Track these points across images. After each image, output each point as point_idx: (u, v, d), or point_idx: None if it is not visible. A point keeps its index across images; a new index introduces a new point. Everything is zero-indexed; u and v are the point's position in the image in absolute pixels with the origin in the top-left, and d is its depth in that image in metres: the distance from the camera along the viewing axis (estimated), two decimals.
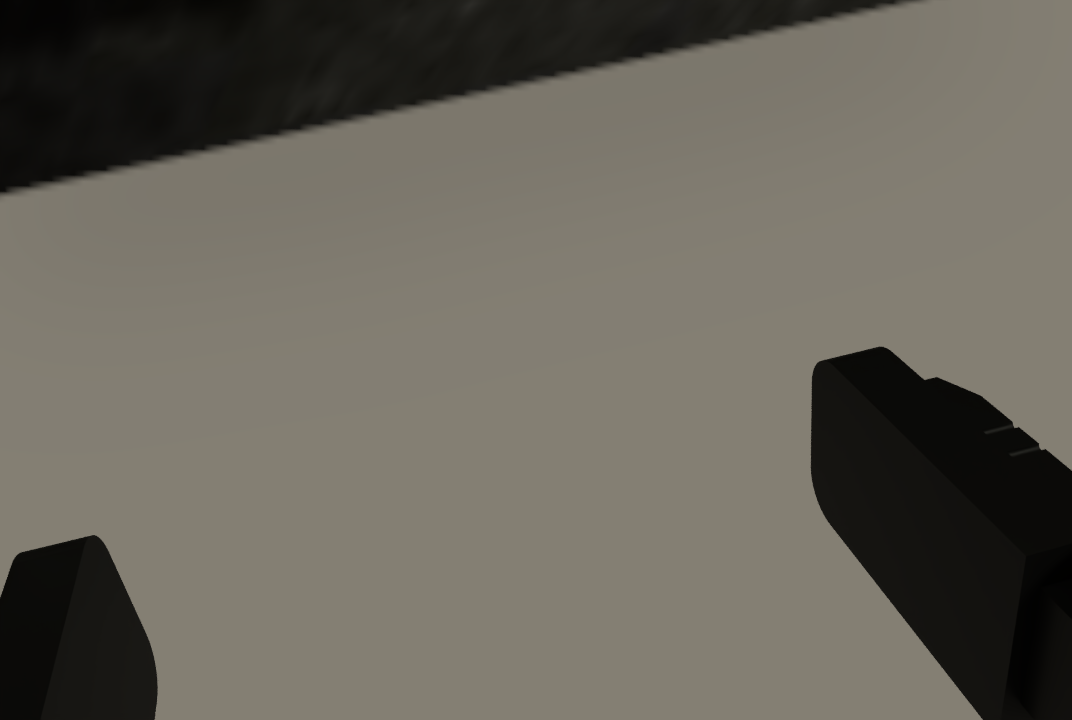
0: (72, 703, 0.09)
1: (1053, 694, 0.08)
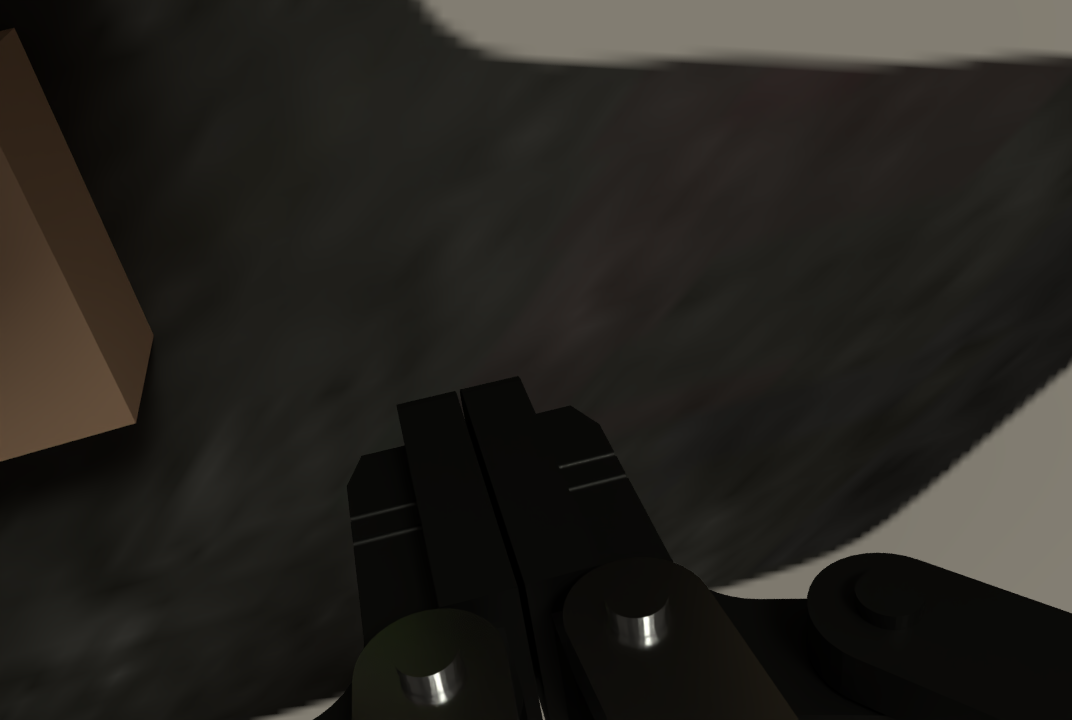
0: None
1: (573, 713, 0.09)
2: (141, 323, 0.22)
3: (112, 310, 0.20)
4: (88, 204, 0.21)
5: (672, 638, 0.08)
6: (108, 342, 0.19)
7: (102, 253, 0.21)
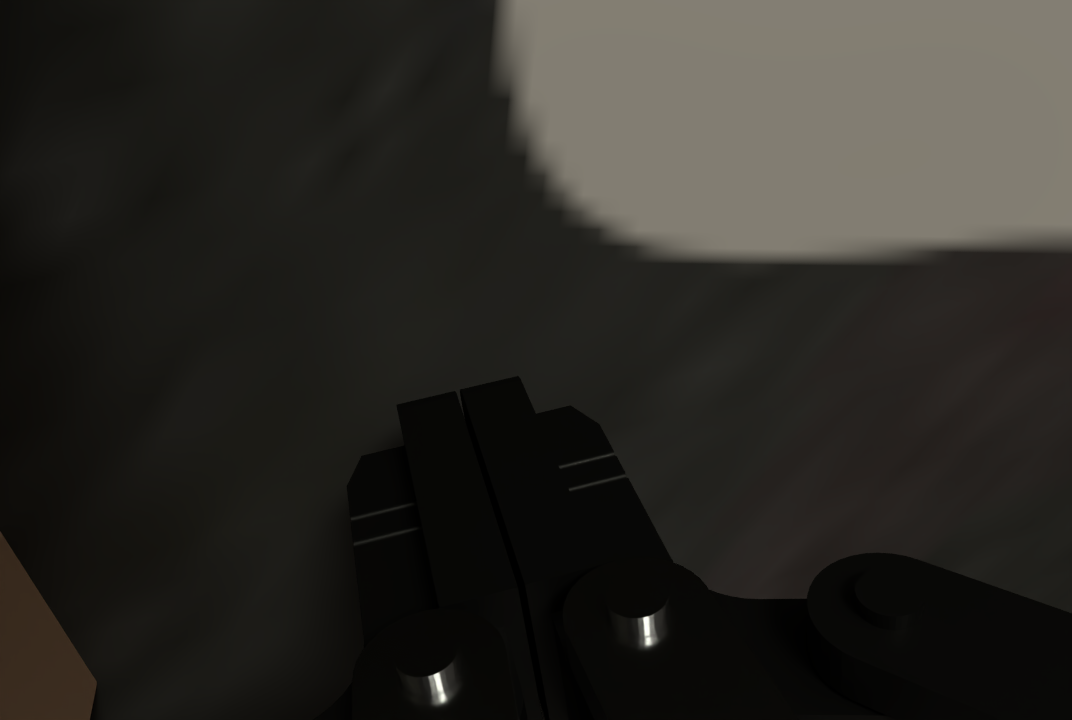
0: None
1: (572, 714, 0.09)
2: (73, 681, 0.13)
3: (7, 715, 0.12)
4: None
5: (672, 638, 0.08)
6: None
7: None
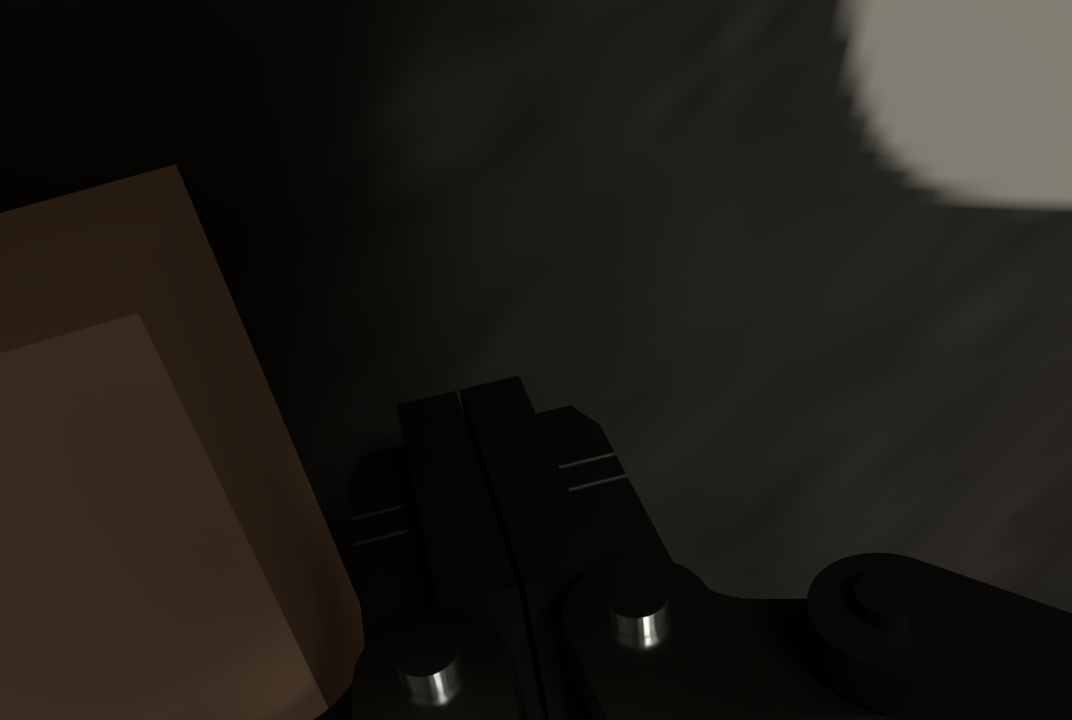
0: None
1: (572, 714, 0.09)
2: (354, 605, 0.14)
3: (336, 628, 0.12)
4: (285, 440, 0.12)
5: (672, 638, 0.08)
6: None
7: (310, 521, 0.12)
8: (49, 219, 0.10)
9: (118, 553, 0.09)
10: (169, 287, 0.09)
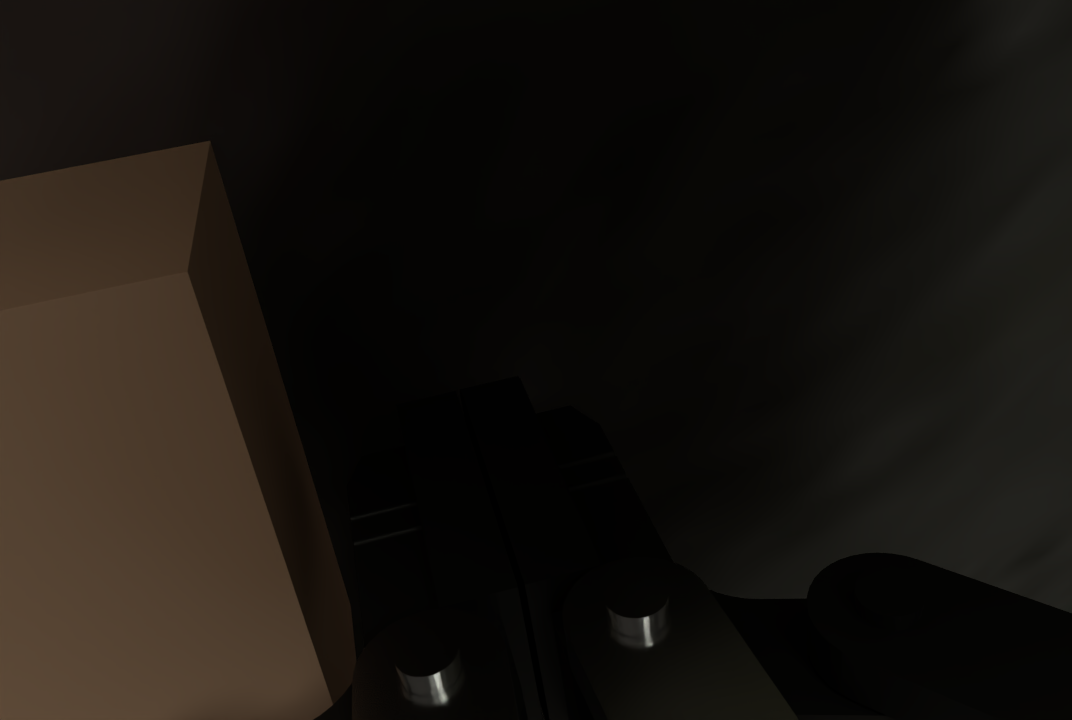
0: None
1: (573, 714, 0.09)
2: (343, 593, 0.14)
3: (330, 610, 0.12)
4: (292, 421, 0.13)
5: (672, 638, 0.08)
6: (339, 687, 0.11)
7: (310, 504, 0.12)
8: (83, 180, 0.10)
9: (137, 513, 0.09)
10: (208, 253, 0.09)
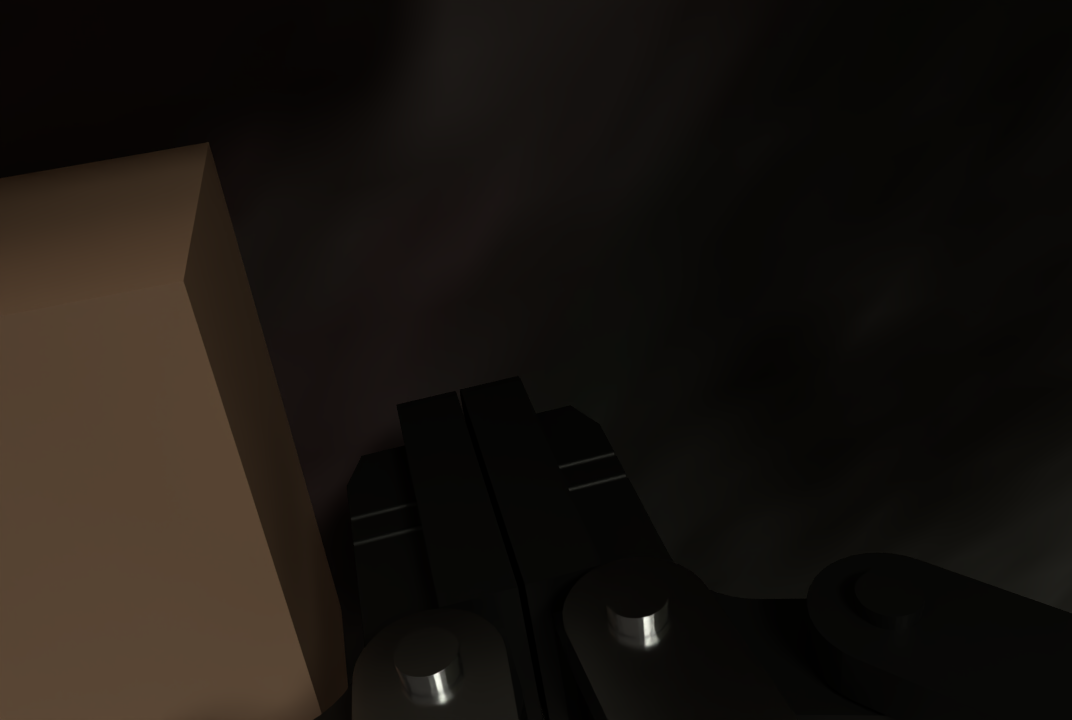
0: None
1: (573, 714, 0.09)
2: (334, 603, 0.14)
3: (321, 621, 0.12)
4: (285, 429, 0.12)
5: (672, 638, 0.08)
6: (329, 698, 0.11)
7: (303, 513, 0.12)
8: (79, 184, 0.10)
9: (128, 523, 0.09)
10: (204, 261, 0.09)
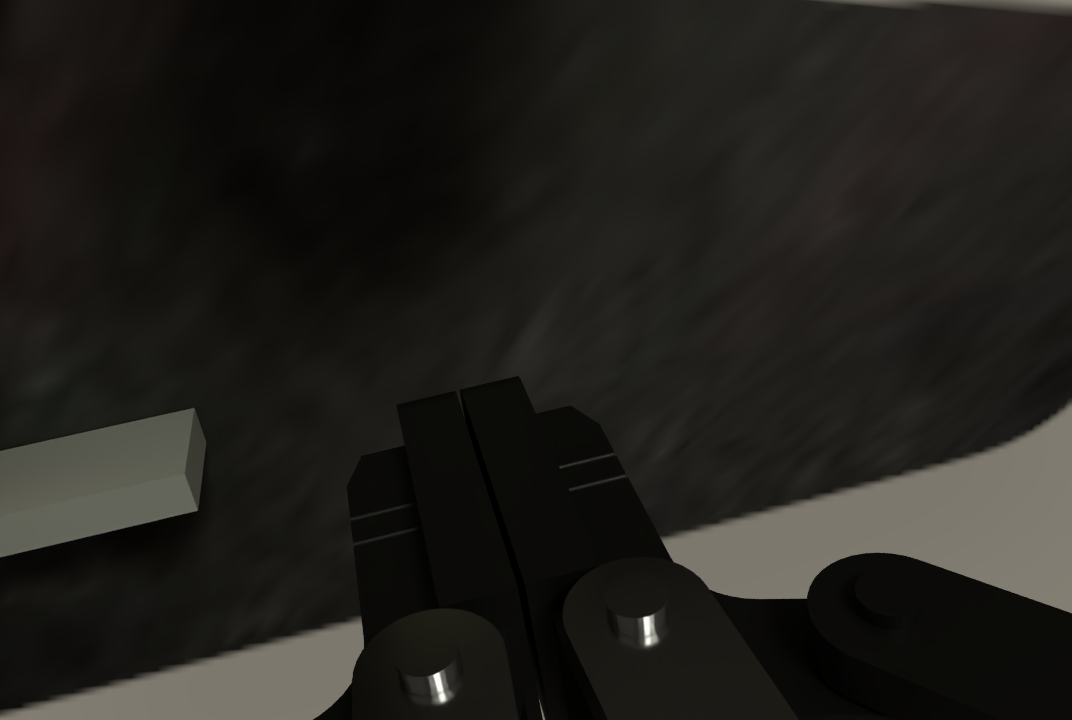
0: None
1: (573, 714, 0.09)
2: None
3: None
4: None
5: (672, 638, 0.08)
6: None
7: None
8: None
9: None
10: None
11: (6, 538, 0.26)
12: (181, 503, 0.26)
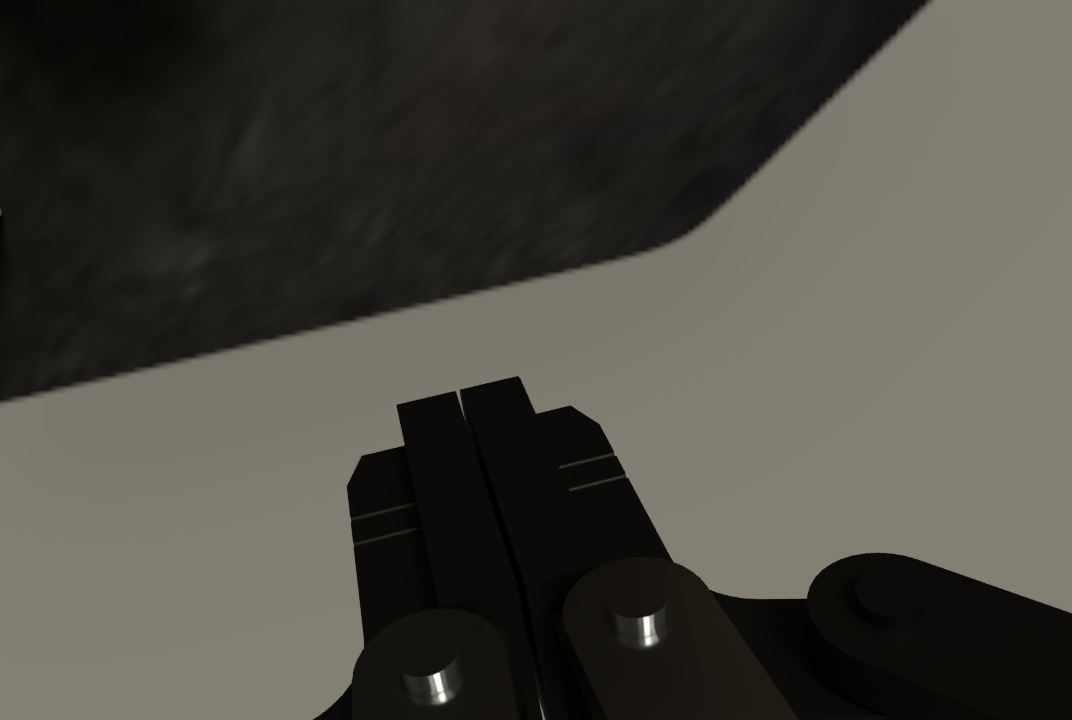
0: None
1: (572, 713, 0.09)
2: None
3: None
4: None
5: (672, 638, 0.08)
6: None
7: None
8: None
9: None
10: None
11: None
12: None
